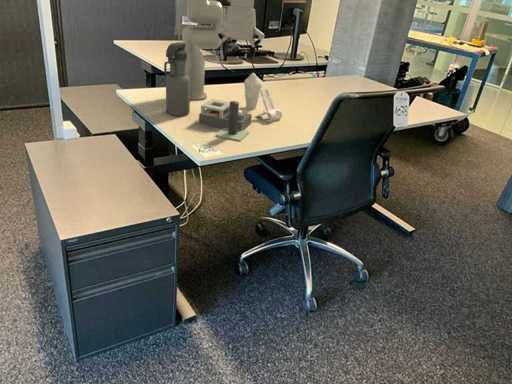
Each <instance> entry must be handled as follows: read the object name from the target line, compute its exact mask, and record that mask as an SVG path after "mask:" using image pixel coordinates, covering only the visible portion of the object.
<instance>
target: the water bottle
mask: <svg viewBox="0 0 512 384" xmlns="http://www.w3.org/2000/svg"><path fill="white" fill-rule="evenodd" d="M185 47H186V43H183V42H182V41H181V42H179V41H178V42H173V43H171V44H169V45H168V47H167V49H166V51H165V57H166V58H167V61H165V62H164V63H163V65H164V66H163V68H164V69H163V70H164V71H163V72H164V75H165V76H166V78H165V112H166V114H168V115H170V116H172V117H173V116H174V117H183V116H184V117H185V116H188V115H189V114H190V113H191V112H190V110H191V107H190V106H191V100H190V78H189V77H188V76H187V75H186V70H187V52H186V51H185ZM168 64H169V73H168V72H167V65H168Z"/></svg>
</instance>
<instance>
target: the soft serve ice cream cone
mask: <svg viewBox="0 0 512 384" xmlns="http://www.w3.org/2000/svg"><path fill="white" fill-rule="evenodd" d="M243 84H244V98H245V106H246V107H245V108H246V109H249V110H255V109H256V107H257V104H258V101H259V98H260V95H261V92H260V91H261V90H262V87H263V82H262V80H261V79H260V78H259V76H257V75H256V73H254V72H252V73H251V74H250V75H248V77H247V78H246V79H244V82H243Z"/></svg>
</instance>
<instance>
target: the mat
mask: <svg viewBox="0 0 512 384" xmlns="http://www.w3.org/2000/svg"><path fill="white" fill-rule="evenodd" d="M249 134H250V131H247V130H242V131H239V130H237V134H236V135H231V134H228V128H223V129H222V128H221V130H219V131H218V132H216V134H215V137H219V138H223V139H228V140H233V141H235V142H242V140H244V139H245V138H246V137H247V136H248V135H249Z"/></svg>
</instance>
